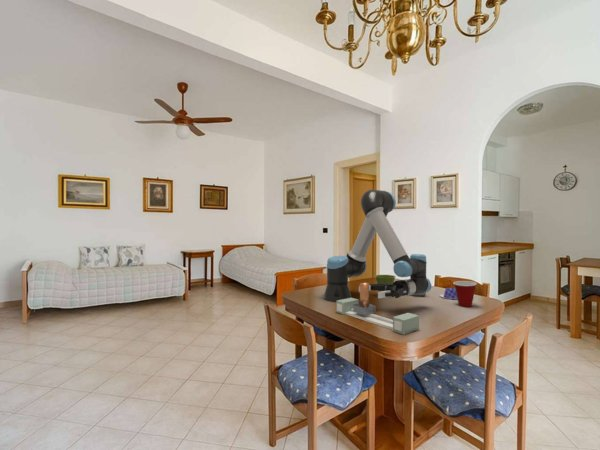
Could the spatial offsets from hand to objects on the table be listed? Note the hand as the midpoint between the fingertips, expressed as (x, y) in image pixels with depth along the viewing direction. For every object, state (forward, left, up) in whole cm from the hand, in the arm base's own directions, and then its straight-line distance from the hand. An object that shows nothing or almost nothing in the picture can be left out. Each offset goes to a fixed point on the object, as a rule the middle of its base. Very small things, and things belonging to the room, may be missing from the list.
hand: (368, 292), depth 139 cm
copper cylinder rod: (-1, -2, -9) cm, 9 cm away
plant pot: (-22, +40, -11) cm, 47 cm away
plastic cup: (+17, +54, -11) cm, 58 cm away
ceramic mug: (-11, +56, -11) cm, 58 cm away
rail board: (+5, -2, -11) cm, 12 cm away
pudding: (+4, +66, -12) cm, 67 cm away
